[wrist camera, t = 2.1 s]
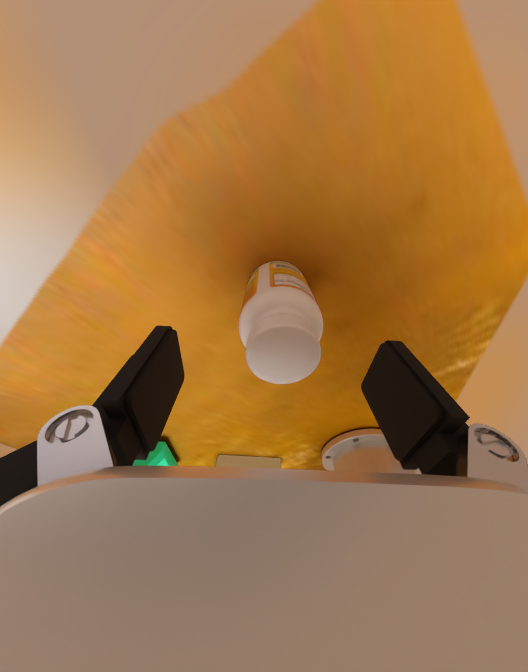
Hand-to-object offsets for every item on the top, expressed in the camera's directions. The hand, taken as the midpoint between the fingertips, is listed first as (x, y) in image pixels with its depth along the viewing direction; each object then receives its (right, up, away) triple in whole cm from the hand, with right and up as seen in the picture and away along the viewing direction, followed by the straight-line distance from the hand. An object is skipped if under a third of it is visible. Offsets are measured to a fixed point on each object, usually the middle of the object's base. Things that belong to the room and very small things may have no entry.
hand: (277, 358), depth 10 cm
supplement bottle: (+1, +5, +9) cm, 11 cm away
